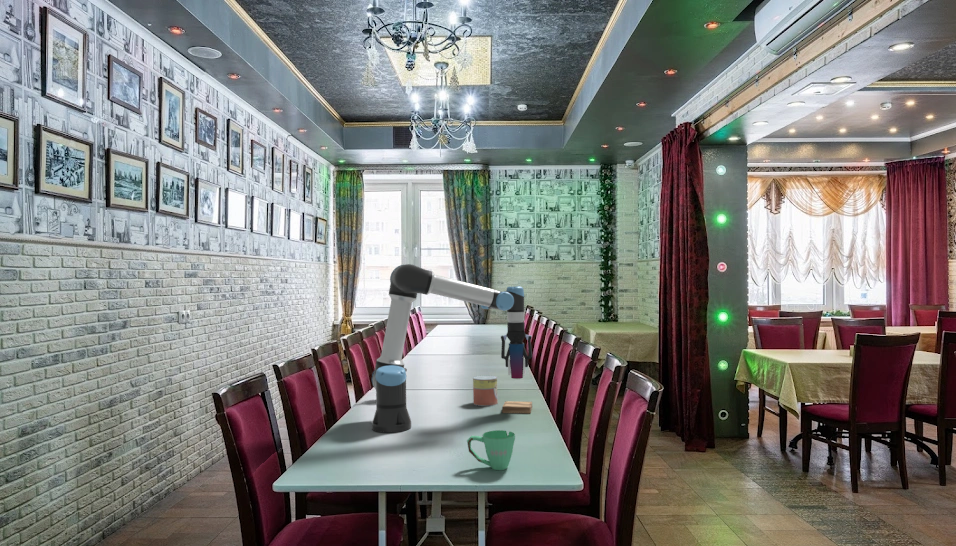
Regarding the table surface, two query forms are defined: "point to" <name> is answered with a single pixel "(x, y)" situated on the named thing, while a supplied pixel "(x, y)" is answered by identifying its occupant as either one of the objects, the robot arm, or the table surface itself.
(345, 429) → the table surface
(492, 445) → the mug
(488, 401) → the canned food
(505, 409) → the board
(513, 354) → the cup
